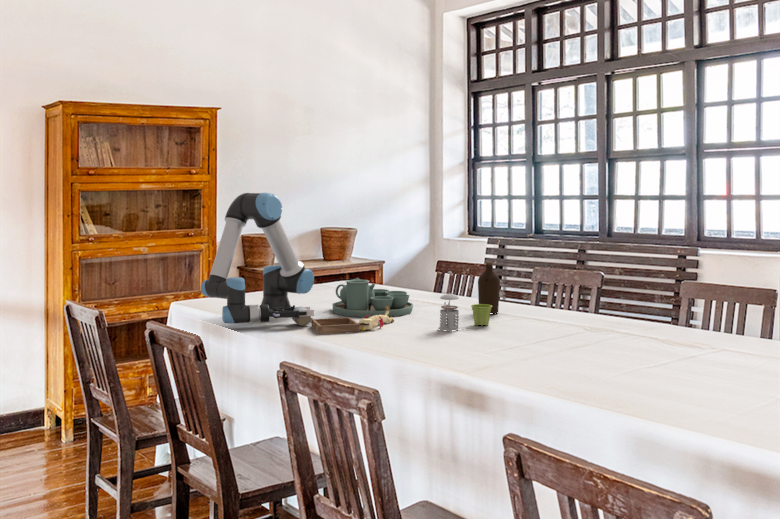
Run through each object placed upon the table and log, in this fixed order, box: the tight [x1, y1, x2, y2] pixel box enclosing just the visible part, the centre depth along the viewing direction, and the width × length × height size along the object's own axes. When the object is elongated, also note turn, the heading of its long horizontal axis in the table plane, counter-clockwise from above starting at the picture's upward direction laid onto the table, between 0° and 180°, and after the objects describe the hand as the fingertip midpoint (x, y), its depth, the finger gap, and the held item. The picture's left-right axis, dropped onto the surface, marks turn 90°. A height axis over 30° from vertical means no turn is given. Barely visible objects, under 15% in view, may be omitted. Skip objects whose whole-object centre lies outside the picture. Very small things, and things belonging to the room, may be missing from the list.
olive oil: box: [477, 261, 501, 313], centre depth 333 cm, size 11×11×25 cm
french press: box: [437, 270, 461, 332], centre depth 290 cm, size 10×12×25 cm
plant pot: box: [470, 303, 492, 326], centre depth 302 cm, size 9×9×9 cm
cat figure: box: [358, 306, 395, 331], centre depth 298 cm, size 10×9×25 cm
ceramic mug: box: [291, 305, 314, 327], centre depth 301 cm, size 11×8×8 cm
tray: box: [311, 316, 361, 335], centre depth 291 cm, size 17×17×3 cm
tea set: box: [332, 277, 414, 318], centre depth 339 cm, size 40×40×16 cm
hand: (311, 311), depth 301 cm, fingers closed on ceramic mug, 8 cm apart
